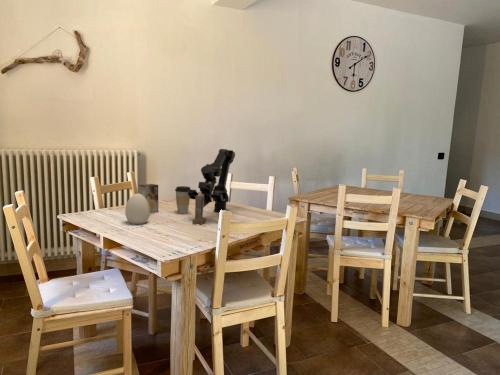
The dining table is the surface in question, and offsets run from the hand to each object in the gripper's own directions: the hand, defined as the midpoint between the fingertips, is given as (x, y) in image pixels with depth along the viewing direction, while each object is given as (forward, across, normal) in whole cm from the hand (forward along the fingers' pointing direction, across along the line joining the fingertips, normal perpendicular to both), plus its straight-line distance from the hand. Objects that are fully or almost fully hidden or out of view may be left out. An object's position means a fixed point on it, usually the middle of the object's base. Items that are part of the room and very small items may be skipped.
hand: (200, 208), depth 199 cm
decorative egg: (+15, -29, -4) cm, 33 cm away
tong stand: (+7, 0, +4) cm, 8 cm away
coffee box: (-1, -36, +12) cm, 38 cm away
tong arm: (+5, 0, +2) cm, 5 cm away
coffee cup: (-7, -19, +18) cm, 27 cm away
